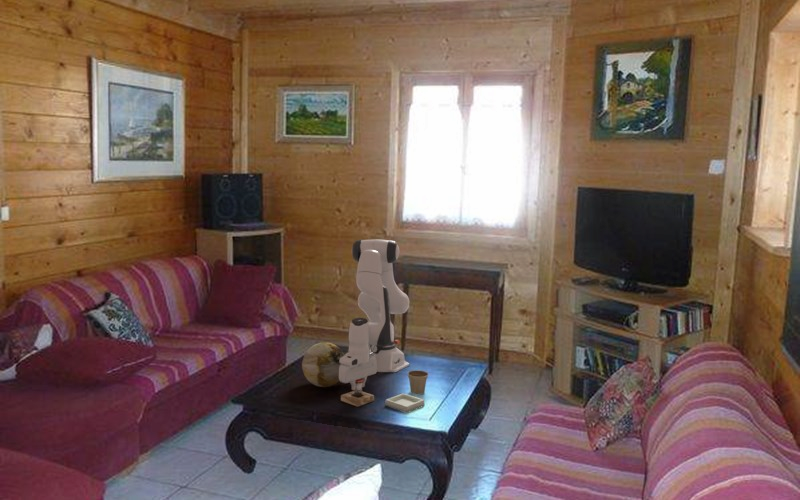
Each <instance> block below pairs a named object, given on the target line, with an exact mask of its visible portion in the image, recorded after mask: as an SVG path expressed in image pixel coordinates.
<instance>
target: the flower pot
mask: <svg viewBox="0 0 800 500" xmlns="http://www.w3.org/2000/svg"><path fill="white" fill-rule="evenodd" d="M407 377H408V379H409V387H410V393H411V394H414V395H423V394H424V393H425V391H426V385H427V379H428V377H429V372H427V371H425V370H419V369H417V370H410V371H408V372H407Z"/></svg>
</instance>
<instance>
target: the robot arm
mask: <svg viewBox="0 0 800 500" xmlns="http://www.w3.org/2000/svg"><path fill="white" fill-rule="evenodd" d="M400 251H401V250H400V246H399V243H398V242H397V241H395V240H391V239H389V240H387V239H380V238H379V239H378V238H376V239H356V240H355V241H354V242H353V243H352V246H351V257H352V259H353V260H354V261H355V262H357V263H358V264H357V268H356V277H355V278H356V279H355V283H356V286H357V288H358V290H359V291H360V293H359V294H358V297H357V304H358V307H359V309H360V310H362V311H363V312H364V314H365V315H366V316H367V318H368V319H367V318H365V317H355V318H353V319H351V320H350V325H349V328H348V343H349V346H348V351H347V352H346V353H344V356H343V357H341V358H340V360H339V362H340V363H341V365H340V367H339V381H338V382H340V383H342V384H348V383H350V386H351V390H352V391H354V390H356V389H357V385H355V380H358V379H361V378H362V379H363V382H362V388H364V387H365V386H366V381H367V379H368V377H369V376H373V375H375V374H376V373H377V372H378V373H397V372H398V371H401V370H403V369H405V368H407V367H409V366H410V363H409V362H408V361H406V359H405V354H404V352H403V351H401V350H400V349H399V348H397V346H396V345H399V344H400V340H398V339H395V338H394V335H395V333H394V332H395V326H394V324H393V323H392V319H391V315H400V314H405V313H406V312H407V311H408V310H409V307H410V298H409V296H408V295H407V294H406V293H405V292H403V291H402V290H401V289H400V288H399V287H398V285H397V284H396V281H395V278H394V269H393V265H394V264H395V263H396V262H397V261H398V258H399V256H400ZM393 263H394V264H393ZM394 339H395V340H394Z"/></svg>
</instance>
